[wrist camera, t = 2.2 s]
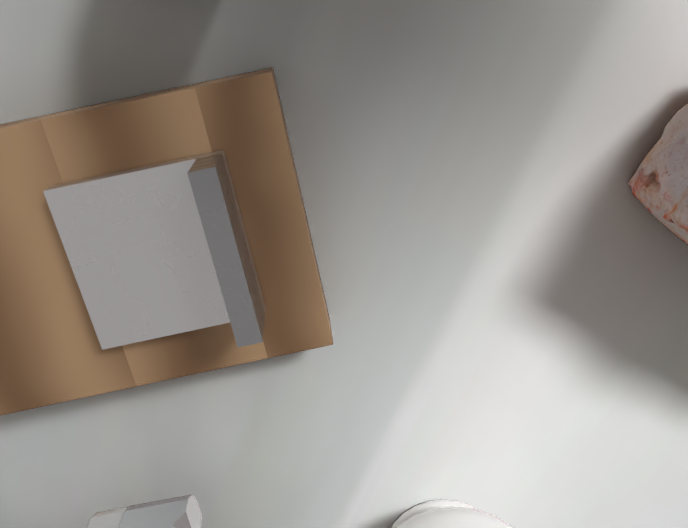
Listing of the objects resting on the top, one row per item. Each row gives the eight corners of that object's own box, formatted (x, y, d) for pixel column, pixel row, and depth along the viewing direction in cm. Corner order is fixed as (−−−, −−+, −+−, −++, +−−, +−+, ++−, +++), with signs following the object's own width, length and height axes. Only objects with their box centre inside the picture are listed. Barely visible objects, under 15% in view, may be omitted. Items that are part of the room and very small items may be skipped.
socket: (272, 67, 27) (271, 71, 25) (329, 319, 32) (333, 344, 29) (-149, 155, 27) (-192, 168, 25) (-35, 397, 31) (-61, 428, 29)
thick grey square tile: (224, 149, 26) (215, 166, 23) (265, 307, 28) (262, 342, 25) (50, 186, 26) (17, 208, 23) (107, 340, 28) (84, 380, 25)
